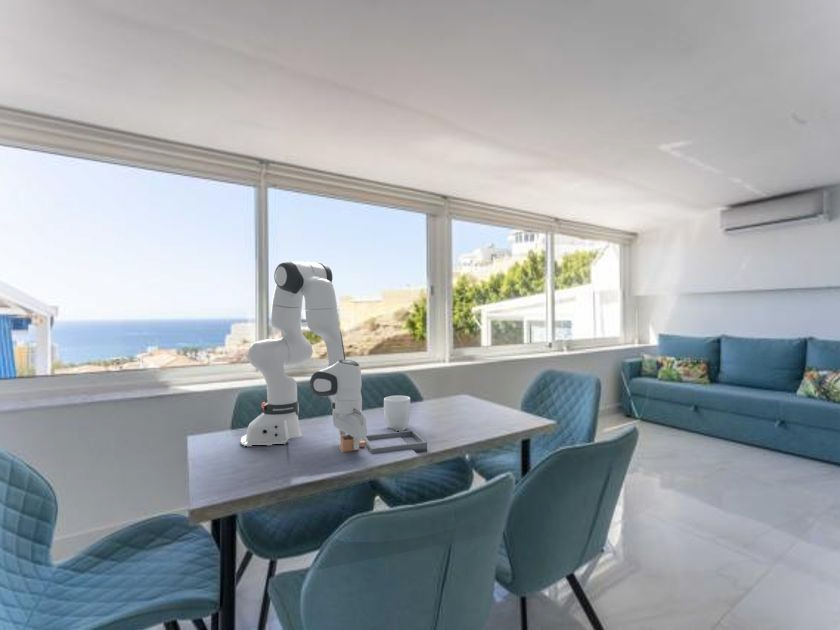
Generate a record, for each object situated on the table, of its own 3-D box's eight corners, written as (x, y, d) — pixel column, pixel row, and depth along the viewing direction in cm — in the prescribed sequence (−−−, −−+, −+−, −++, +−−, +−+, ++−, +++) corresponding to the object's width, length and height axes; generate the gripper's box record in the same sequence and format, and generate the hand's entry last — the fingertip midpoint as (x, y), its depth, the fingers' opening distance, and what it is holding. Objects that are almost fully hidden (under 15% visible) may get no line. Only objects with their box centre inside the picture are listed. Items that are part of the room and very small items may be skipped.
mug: (395, 422, 188) (395, 392, 188) (418, 425, 184) (418, 394, 183) (379, 431, 174) (378, 399, 174) (403, 434, 170) (403, 401, 170)
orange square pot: (341, 456, 145) (341, 439, 145) (338, 450, 152) (338, 433, 152) (361, 454, 148) (361, 437, 147) (357, 448, 154) (357, 431, 154)
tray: (371, 457, 144) (371, 448, 144) (362, 443, 159) (362, 435, 159) (427, 450, 150) (427, 442, 150) (413, 437, 166) (413, 430, 166)
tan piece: (343, 451, 146) (342, 441, 146) (340, 446, 151) (340, 436, 151) (366, 448, 149) (366, 438, 149) (363, 443, 154) (363, 434, 154)
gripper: (371, 410, 143) (371, 451, 143) (345, 400, 159) (345, 436, 160) (354, 413, 139) (354, 455, 139) (329, 402, 156) (329, 440, 156)
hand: (349, 445), depth 150 cm, fingers open, 8 cm apart
